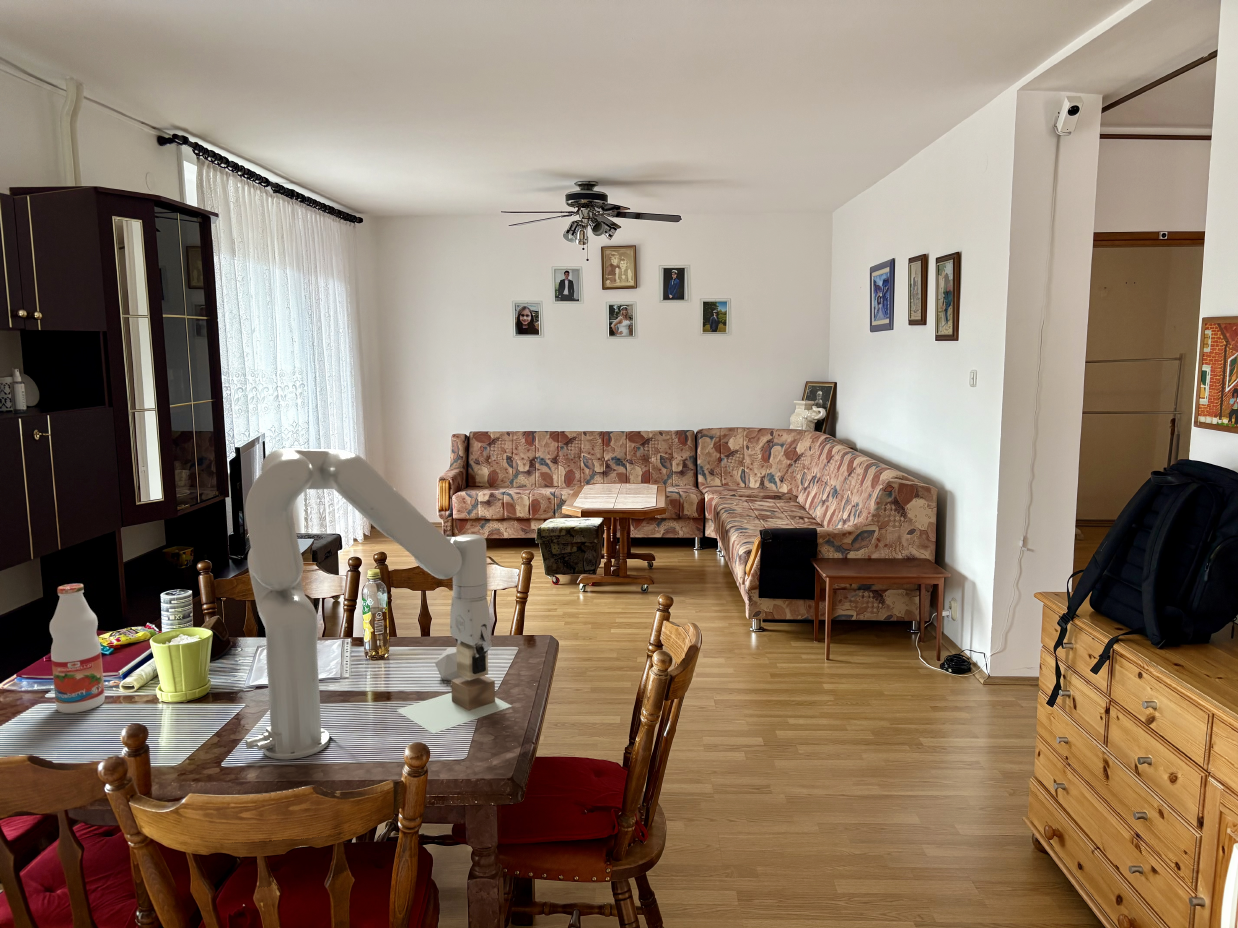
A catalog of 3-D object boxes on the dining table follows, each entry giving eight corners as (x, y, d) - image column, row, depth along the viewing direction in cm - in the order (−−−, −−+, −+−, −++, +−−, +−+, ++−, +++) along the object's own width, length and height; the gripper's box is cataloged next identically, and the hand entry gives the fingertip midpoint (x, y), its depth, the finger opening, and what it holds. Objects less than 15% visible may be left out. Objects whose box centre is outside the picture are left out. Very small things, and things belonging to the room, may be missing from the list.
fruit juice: (109, 694, 195) (99, 578, 191) (99, 710, 186) (89, 589, 183) (62, 700, 192) (52, 582, 188) (50, 716, 183) (39, 593, 179)
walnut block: (468, 710, 183) (468, 688, 182) (451, 701, 188) (451, 680, 187) (495, 701, 187) (494, 680, 187) (478, 692, 192) (477, 672, 192)
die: (480, 680, 205) (468, 643, 208) (471, 675, 197) (459, 637, 200) (449, 692, 204) (438, 656, 208) (439, 688, 196) (427, 650, 200)
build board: (433, 737, 172) (433, 733, 172) (396, 714, 183) (395, 709, 183) (512, 710, 185) (512, 705, 185) (472, 689, 197) (472, 685, 197)
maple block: (469, 680, 183) (468, 649, 182) (457, 673, 187) (456, 644, 186) (488, 674, 187) (487, 644, 186) (475, 668, 190) (475, 638, 189)
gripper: (435, 586, 188) (438, 663, 190) (477, 601, 176) (479, 684, 178) (463, 580, 193) (466, 655, 195) (506, 594, 181) (508, 675, 183)
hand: (472, 668), depth 187 cm, fingers closed on maple block, 4 cm apart
